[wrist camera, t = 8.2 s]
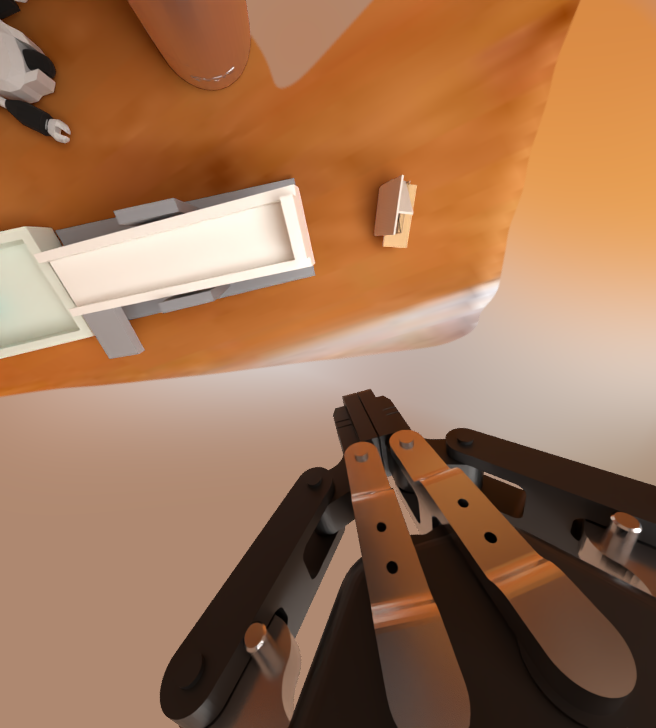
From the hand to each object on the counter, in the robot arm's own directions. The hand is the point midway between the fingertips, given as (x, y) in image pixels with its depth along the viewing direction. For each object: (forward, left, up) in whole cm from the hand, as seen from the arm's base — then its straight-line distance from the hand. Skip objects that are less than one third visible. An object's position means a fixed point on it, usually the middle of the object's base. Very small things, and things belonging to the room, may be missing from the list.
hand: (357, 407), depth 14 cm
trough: (-6, -11, -21) cm, 25 cm away
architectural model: (-9, +12, -28) cm, 31 cm away
